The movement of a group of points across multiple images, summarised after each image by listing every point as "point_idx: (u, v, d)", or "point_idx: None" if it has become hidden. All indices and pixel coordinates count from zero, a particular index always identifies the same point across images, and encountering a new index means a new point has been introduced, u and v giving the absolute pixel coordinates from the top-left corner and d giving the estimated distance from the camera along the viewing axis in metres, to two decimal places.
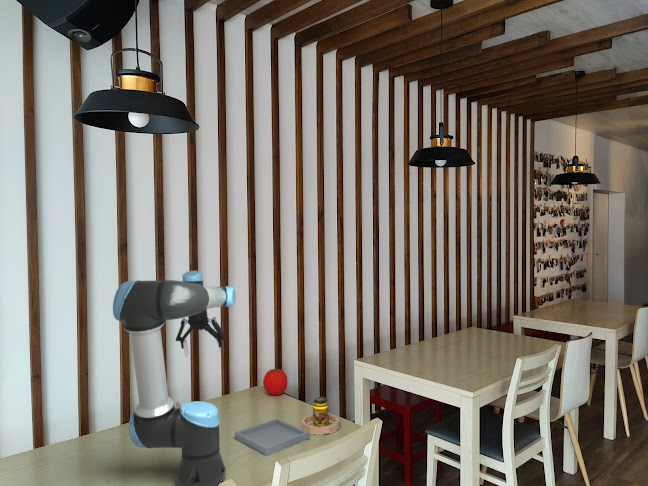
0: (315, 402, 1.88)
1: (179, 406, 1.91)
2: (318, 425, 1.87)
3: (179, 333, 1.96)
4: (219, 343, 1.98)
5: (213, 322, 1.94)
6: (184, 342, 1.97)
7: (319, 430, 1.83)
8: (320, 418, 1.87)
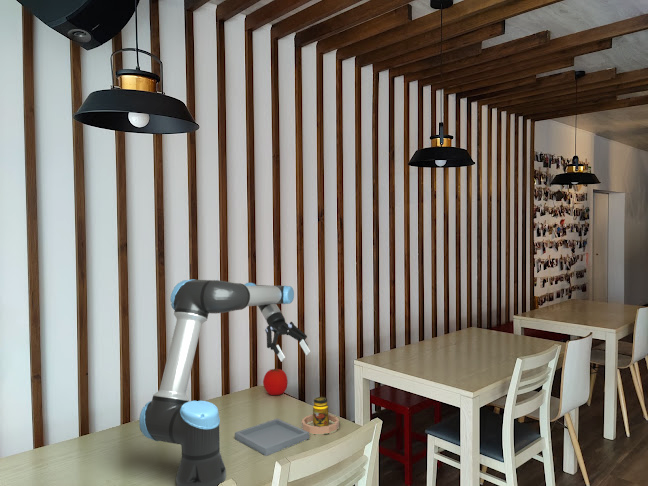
0: (315, 402, 1.88)
1: None
2: (318, 425, 1.87)
3: (270, 337, 2.00)
4: (304, 342, 2.08)
5: (292, 323, 2.12)
6: (277, 345, 1.99)
7: (319, 430, 1.83)
8: (320, 418, 1.87)
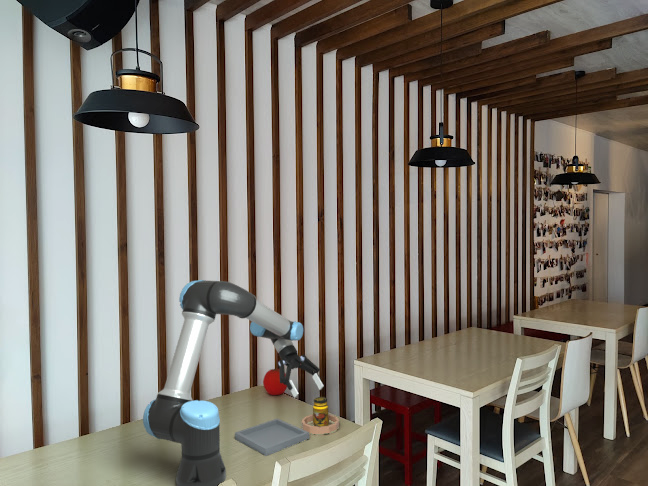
0: (315, 402, 1.88)
1: None
2: (318, 425, 1.87)
3: (283, 372, 1.96)
4: (317, 376, 2.04)
5: (305, 356, 2.08)
6: (290, 380, 1.95)
7: (319, 430, 1.83)
8: (320, 418, 1.87)
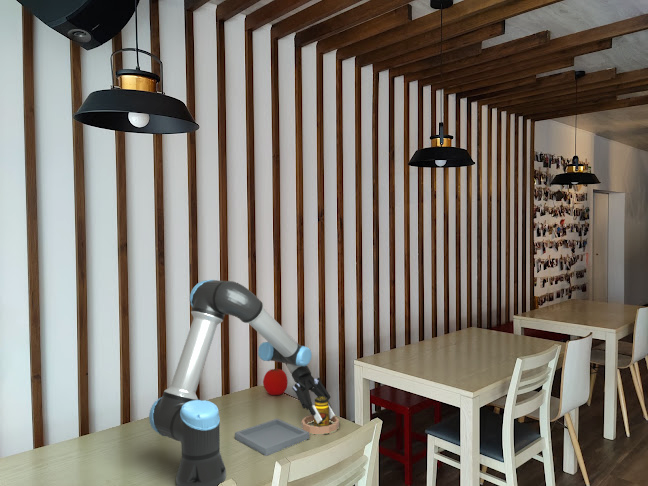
0: (316, 401, 1.88)
1: None
2: (319, 424, 1.87)
3: (303, 396, 1.89)
4: (328, 404, 1.93)
5: (319, 379, 1.99)
6: (313, 405, 1.88)
7: (319, 430, 1.83)
8: None
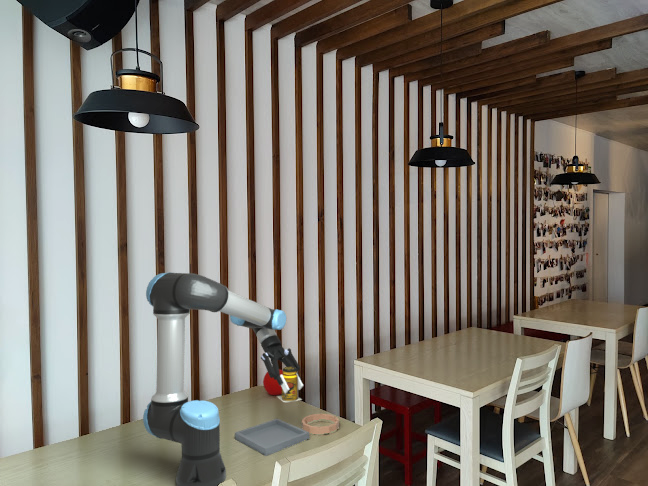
0: (284, 371, 1.83)
1: None
2: (286, 395, 1.81)
3: (270, 365, 1.83)
4: None
5: (290, 350, 1.94)
6: None
7: (319, 430, 1.83)
8: None
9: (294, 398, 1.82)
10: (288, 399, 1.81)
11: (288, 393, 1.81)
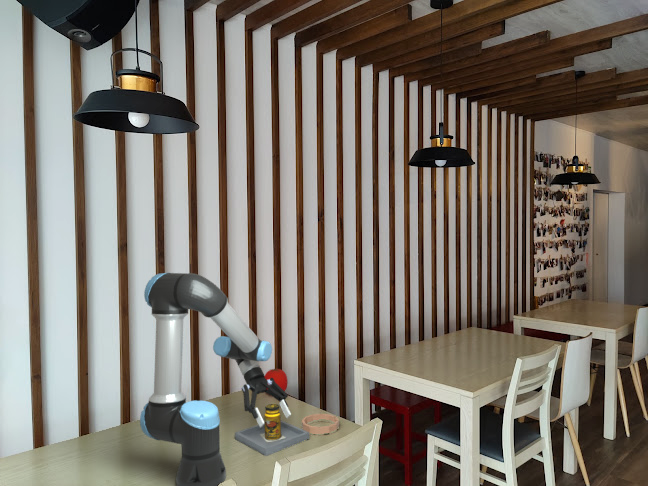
0: (266, 409, 1.79)
1: None
2: (269, 434, 1.77)
3: (247, 398, 1.79)
4: (285, 402, 1.86)
5: (272, 379, 1.90)
6: None
7: (319, 430, 1.83)
8: (271, 426, 1.77)
9: (277, 437, 1.78)
10: (271, 438, 1.77)
11: (271, 432, 1.77)
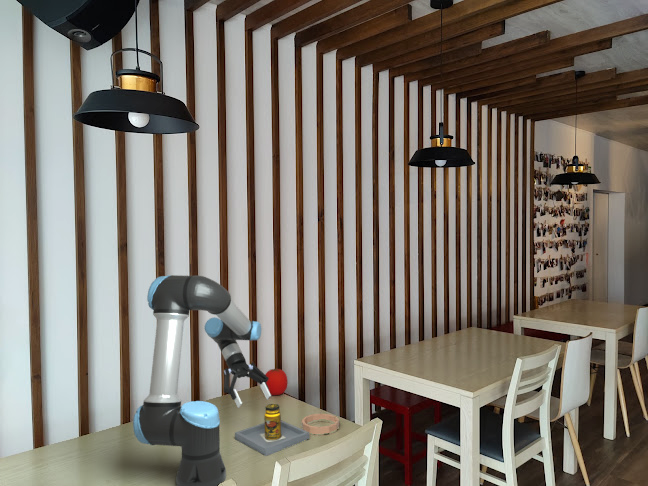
0: (266, 409, 1.79)
1: None
2: (269, 434, 1.77)
3: (227, 380, 1.89)
4: (265, 385, 1.97)
5: (253, 364, 2.01)
6: (235, 389, 1.88)
7: (319, 430, 1.83)
8: (271, 426, 1.77)
9: (277, 437, 1.78)
10: (271, 438, 1.77)
11: (271, 432, 1.77)
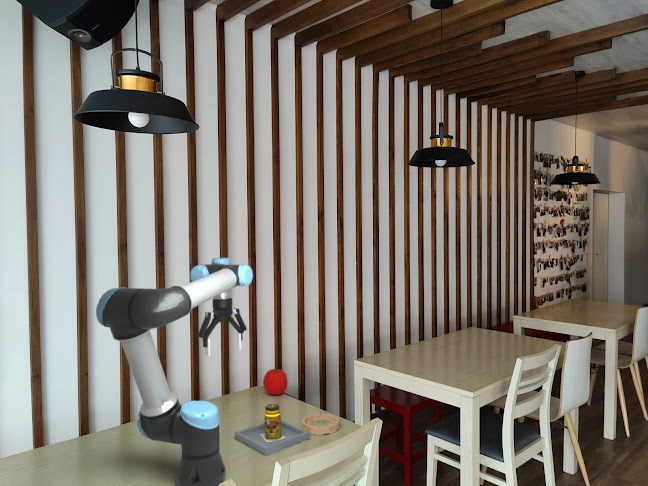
0: (266, 409, 1.79)
1: None
2: (269, 434, 1.77)
3: (205, 327, 1.80)
4: (240, 336, 1.91)
5: (238, 311, 1.90)
6: (209, 338, 1.81)
7: (319, 430, 1.83)
8: (271, 426, 1.77)
9: (277, 437, 1.78)
10: (271, 438, 1.77)
11: (271, 432, 1.77)
